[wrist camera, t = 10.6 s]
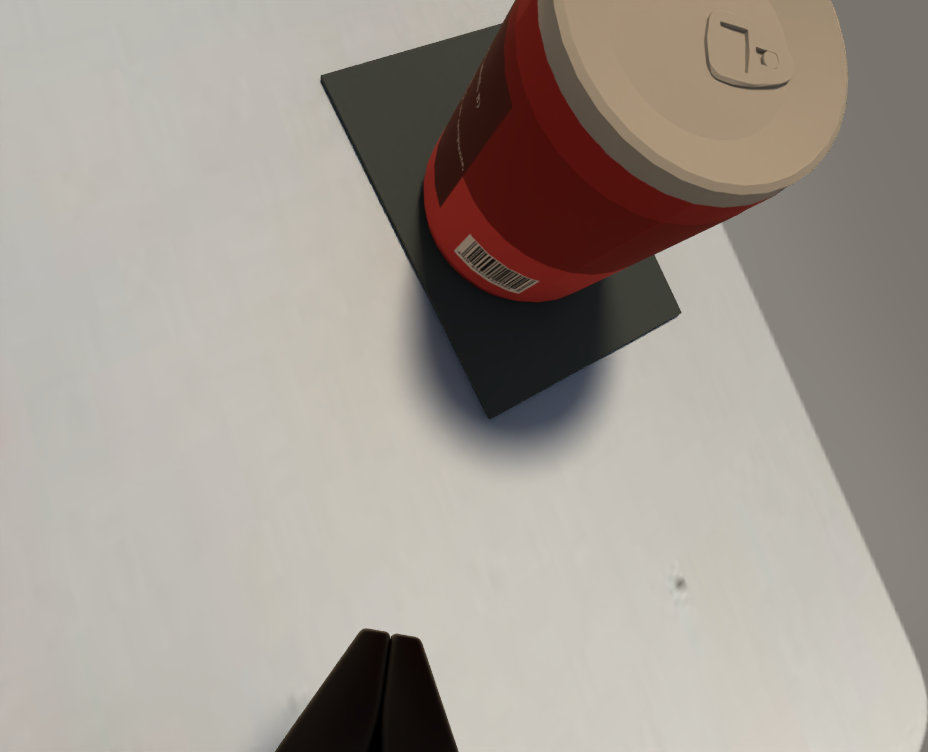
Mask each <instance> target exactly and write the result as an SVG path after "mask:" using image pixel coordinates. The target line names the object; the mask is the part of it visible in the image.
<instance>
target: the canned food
mask: <svg viewBox="0 0 928 752" xmlns="http://www.w3.org/2000/svg"><path fill="white" fill-rule="evenodd" d="M847 88H848V69H847V58H846V49H845V44H844V40H843V36H842V32H841V28H840V24H839V20H838V17H837V14H836V12H835V10H834V7H833V5H832V2H831V0H515V2H514V4H513V5H512V7H511V9H510V11H509V13H508V14H507V16H506V18H505V20H504V22H503V24H502V25H501V27H500V29H499V31H498V33H497V34H496V36H495V38H494V40H493V42H492V44H491V45H490V47H489V49H488V51H487V53H486V55H485V56H484V58H483V60H482V62H481V64H480V65H479V67H478V69H477V71H476V73H475V75H474V76H473V78H472V80H471V82H470V84H469V86H468V87H467V89H466V91H465V93H464V95H463V96H462V98H461V100H460V102H459V104H458V106H457V107H456V109H455V111H454V113H453V115H452V116H451V118H450V120H449V122H448V124H447V126H446V127H445V129H444V131H443V133H442V135H441V137H440V138H439V140H438V142H437V144H436V146H435V148H434V150H433V152H432V154H431V157H430V159H429V161H428V164H427V168H426V174H425V179H424V206H425V213H426V217H427V222H428V226H429V230H430V232H431V234H432V237H433V239H434V241H435V244H436V246H437V248H438V249H439V251H440V252H441V253H442V255H443V256H444V258H445V259H446V261H447V262H448V263H449V264H450V265H451V267H452V268H453V269H454V270H455V271H456V272H457V273H458V274H459V275H460V276H461V277H463V278H464V279H465V280H467V281H468V282H470V283H471V284H472V285H474V286H475V287H477V288H479V289H481V290H483V291H485V292H487V293H489V294H492V295H494V296H497V297H501V298H505V299H509V300H514V301H525V302H543V301H550V300H557V299H559V298H562V297H565V296H567V295H570V294H572V293H575V292H577V291H579V290H581V289H583V288H585V287H587V286H589V285H591V284H594V283H596V282H598V281H600V280H602V279H604V278H606V277H608V276H610V275H612V274H615V273H617V272H619V271H621V270H623V269H625V268H627V267H629V266H631V265H633V264H635V263H638V262H640V261H642V260H644V259H646V258H648V257H650V256H652V255H654V254H656V253H659V252H661V251H663V250H665V249H667V248H669V247H671V246H673V245H675V244H677V243H680V242H682V241H684V240H686V239H688V238H690V237H692V236H694V235H696V234H698V233H701V232H703V231H705V230H707V229H709V228H711V227H713V226H715V225H717V224H719V223H721V222H723V221H726V220H728V219H730V218H732V217H734V216H736V215H738V214H740V213H742V212H743V211H745V210H747V209H749V208H751V207H752V206H755V205H757V204H759V203H761V202H763V201H765V200H767V199H769V198H771V197H773V196H775V195H776V194H778V193H779V192H780V191H782V190H783V189H785V188H786V187H788V186H790V185H791V184H793V183H795V182H796V181H798V180H799V179H800V178H802V177H803V176H805V175H806V174H808V173H809V172H811V171H812V170H813V169H814V168H815V167H816V166H817V164H818V163H819V162H820V161H821V160H822V159H823V157H824V156H825V155H826V154H827V153H828V152H829V150H830V147H831V146H832V144H833V141H834V140H835V138H836V136H837V134H838V132H839V130H840V127H841V123H842V119H843V115H844V111H845V107H846V104H847Z"/></svg>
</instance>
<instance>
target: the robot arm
mask: <svg viewBox="0 0 928 752" xmlns="http://www.w3.org/2000/svg"><path fill="white" fill-rule="evenodd" d="M275 752H458V749H457V746H456V743H455V740H454V737H453V734H452V731H451V728H450V725H449V722H448V719H447V716H446V713H445V710H444V707H443V704H442V701H441V698H440V695H439V692H438V689H437V686H436V683H435V680H434V677H433V674H432V671H431V668H430V665H429V662H428V659H427V656H426V653H425V650H424V647H423V644H422V642H421V640H420V639H419V638H417V637H413V636H407V635H401V634H394V635H392V636H391V638H390V635H389V633H387V632H384V631H379V630H373V629H367V628H365V629H362V630H361V631H360V632H359V633H358V635H357V636H356V637H355V639H354V640H353V642H352V643H351V644H350V646H349V647H348V649H347V650H346V652H345V653H344V654H343V656H342V657H341V659H340V660H339V661H338V663H337V664H336V666H335V667H334V669H333V670H332V671H331V673H330V674H329V676H328V677H327V678H326V680H325V681H324V683H323V684H322V685H321V687H320V688H319V690H318V691H317V693H316V694H315V695H314V697H313V698H312V700H311V701H310V702H309V704H308V705H307V707H306V708H305V710H304V711H303V712H302V714H301V715H300V717H299V718H298V719H297V721H296V722H295V724H294V725H293V726H292V728H291V729H290V731H289V732H288V734H287V735H286V736H285V738H284V739H283V741H282V742H281V743H280V745H279V746H278V748H277V749H276V751H275Z"/></svg>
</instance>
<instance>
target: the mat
mask: <svg viewBox="0 0 928 752" xmlns="http://www.w3.org/2000/svg"><path fill="white" fill-rule="evenodd" d="M502 24H503V23H502ZM502 24H498V25H495V26H491V27H488V28H484V29H481V30H477V31H474V32H470V33H467V34H463V35H460V36H456V37H453V38H449V39H446V40H442V41H439V42H436V43H432V44H429V45H425V46H422V47H418V48H415V49H411V50H408V51H404V52H401V53H397V54H394V55H390V56H387V57H383V58H380V59H376V60H373V61H369V62H366V63H362V64H359V65H355V66H352V67H348V68H345V69H341V70H338V71H334V72H331V73H327V74H324V75H321V80H322V82H323V84H324V86H325V88H326V90H327V92H328V94H329V96H330V99H331V101H332V103H333V105H334V107H335V109H336V111H337V113H338V115H339V117H340V119H341V121H342V123H343V125H344V127H345V129H346V131H347V133H348V135H349V137H350V139H351V141H352V143H353V145H354V147H355V149H356V151H357V153H358V155H359V157H360V159H361V161H362V163H363V165H364V167H365V169H366V171H367V173H368V175H369V177H370V179H371V181H372V183H373V185H374V188H375V190H376V192H377V194H378V196H379V198H380V200H381V202H382V204H383V206H384V208H385V210H386V212H387V214H388V216H389V218H390V220H391V222H392V224H393V226H394V228H395V230H396V232H397V234H398V236H399V238H400V240H401V242H402V244H403V246H404V248H405V250H406V252H407V254H408V256H409V258H410V260H411V262H412V264H413V266H414V268H415V270H416V272H417V274H418V276H419V279H420V281H421V283H422V285H423V287H424V289H425V291H426V293H427V295H428V297H429V299H430V301H431V303H432V305H433V307H434V309H435V311H436V313H437V315H438V317H439V319H440V321H441V323H442V325H443V327H444V329H445V331H446V333H447V335H448V337H449V339H450V341H451V343H452V345H453V347H454V349H455V351H456V353H457V355H458V357H459V359H460V361H461V363H462V365H463V368H464V370H465V372H466V374H467V376H468V378H469V380H470V382H471V384H472V386H473V388H474V390H475V392H476V394H477V396H478V398H479V400H480V402H481V404H482V406H483V408H484V410H485V412H486V414H487V416H488V418H489V419H491V418H493V417H495V416H497V415H499V414H500V413H502V412H504V411H506V410H508V409H509V408H511V407H513V406H515V405H517V404H518V403H520V402H522V401H524V400H526V399H527V398H529V397H531V396H533V395H535V394H536V393H538V392H540V391H542V390H544V389H546V388H547V387H549V386H551V385H553V384H555V383H556V382H558V381H560V380H562V379H564V378H565V377H567V376H569V375H571V374H573V373H574V372H576V371H578V370H580V369H582V368H583V367H585V366H587V365H589V364H591V363H592V362H594V361H596V360H598V359H600V358H601V357H603V356H605V355H607V354H609V353H610V352H612V351H614V350H616V349H618V348H619V347H621V346H623V345H625V344H627V343H628V342H630V341H632V340H634V339H636V338H637V337H639V336H641V335H643V334H645V333H646V332H648V331H650V330H652V329H654V328H655V327H657V326H659V325H661V324H663V323H664V322H666V321H668V320H670V319H672V318H673V317H675V316H677V315H679V314H681V310H680V308H679V306H678V304H677V302H676V300H675V298H674V296H673V293H672V291H671V289H670V287H669V285H668V283H667V281H666V279H665V277H664V274H663V272H662V270H661V268H660V266H659V264H658V262H657V260H656V257H655V255H652V256H650V257H648V258H646V259H644V260H642V261H640V262H638V263H635V264H633V265H631V266H629V267H627V268H625V269H623V270H621V271H619V272H617V273H615V274H612V275H610V276H608V277H606V278H604V279H602V280H600V281H598V282H596V283H594V284H591V285H589V286H587V287H585V288H583V289H581V290H579V291H577V292H575V293H572V294H570V295H567V296H565V297H562V298H559V299H557V300H550V301H543V302H525V301H514V300H509V299H505V298H501V297H497V296H494V295H492V294H489V293H487V292H485V291H483V290H481V289H479V288H477V287H475V286H474V285H472V284H471V283H470V282H468V281H467V280H465V279H464V278H463V277H461V276H460V275H459V274H458V273H457V272H456V271H455V270H454V269H453V268H452V267H451V265H450V264H449V263H448V262H447V261H446V259H445V258H444V256H443V255H442V253H441V252H440V251H439V249H438V248H437V246H436V244H435V241H434V239H433V237H432V234H431V232H430V230H429V226H428V222H427V217H426V213H425V206H424V179H425V174H426V168H427V164H428V161H429V159H430V157H431V154H432V152H433V150H434V148H435V146H436V144H437V142H438V140H439V138H440V137H441V135H442V133H443V131H444V129H445V127H446V126H447V124H448V122H449V120H450V118H451V116H452V115H453V113H454V111H455V109H456V107H457V106H458V104H459V102H460V100H461V98H462V96H463V95H464V93H465V91H466V89H467V87H468V86H469V84H470V82H471V80H472V78H473V76H474V75H475V73H476V71H477V69H478V67H479V65H480V64H481V62H482V60H483V58H484V56H485V55H486V53H487V51H488V49H489V47H490V45H491V44H492V42H493V40H494V38H495V36H496V34H497V33H498V31H499V29H500V27H501V25H502Z"/></svg>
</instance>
